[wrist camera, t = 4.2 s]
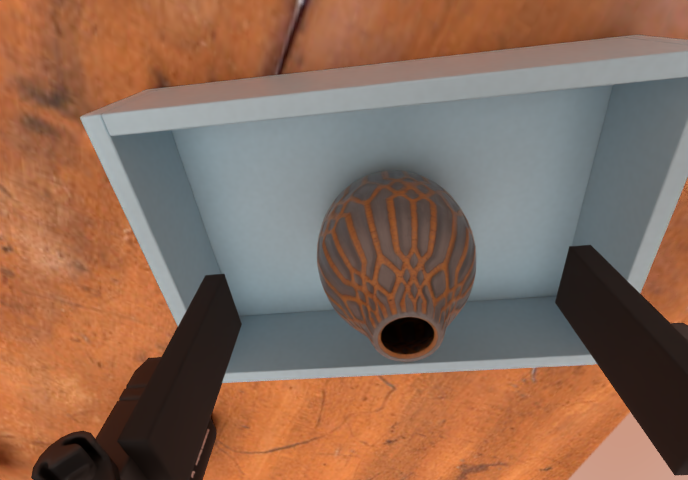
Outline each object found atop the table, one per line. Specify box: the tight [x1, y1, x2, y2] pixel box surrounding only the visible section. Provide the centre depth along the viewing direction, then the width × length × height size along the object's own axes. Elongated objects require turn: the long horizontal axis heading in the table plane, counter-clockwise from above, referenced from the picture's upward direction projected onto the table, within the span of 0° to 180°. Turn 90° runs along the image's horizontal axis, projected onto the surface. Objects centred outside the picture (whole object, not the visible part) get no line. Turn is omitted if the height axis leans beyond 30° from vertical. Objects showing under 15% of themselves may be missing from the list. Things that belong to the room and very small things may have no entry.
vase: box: [317, 170, 476, 362], centre depth 16 cm, size 7×7×9 cm
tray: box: [80, 35, 688, 383], centre depth 18 cm, size 22×15×5 cm
